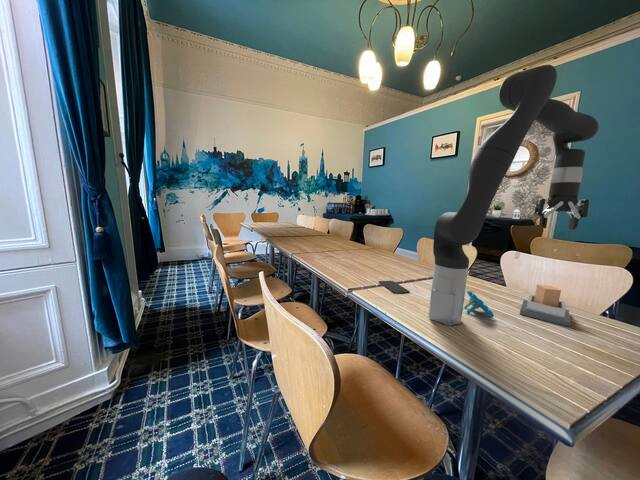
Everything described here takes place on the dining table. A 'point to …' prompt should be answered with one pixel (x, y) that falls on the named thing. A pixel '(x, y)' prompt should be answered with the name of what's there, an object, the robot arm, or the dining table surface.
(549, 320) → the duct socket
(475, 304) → the blue toy figure
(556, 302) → the tan rectangular block
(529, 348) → the dining table surface
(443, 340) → the dining table surface
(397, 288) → the phone
